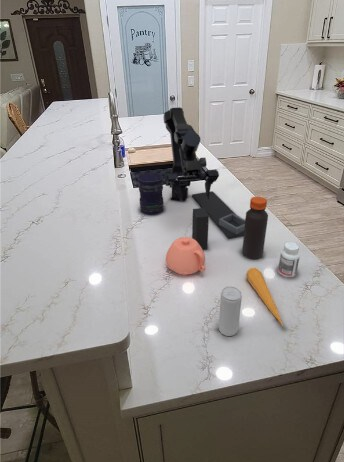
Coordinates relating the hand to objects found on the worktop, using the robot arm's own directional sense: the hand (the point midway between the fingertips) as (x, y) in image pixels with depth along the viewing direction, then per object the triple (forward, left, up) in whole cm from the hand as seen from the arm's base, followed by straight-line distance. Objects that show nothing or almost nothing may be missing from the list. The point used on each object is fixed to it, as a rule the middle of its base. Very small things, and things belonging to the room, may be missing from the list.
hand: (195, 200), depth 115 cm
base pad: (+6, +17, -14) cm, 23 cm away
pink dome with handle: (+3, -20, -14) cm, 25 cm away
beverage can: (+19, -41, -14) cm, 47 cm away
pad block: (+4, -7, -14) cm, 16 cm away
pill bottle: (+33, -14, -14) cm, 38 cm away
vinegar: (+22, -7, -14) cm, 27 cm away
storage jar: (-21, +13, -14) cm, 29 cm away
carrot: (+27, -28, -14) cm, 41 cm away
